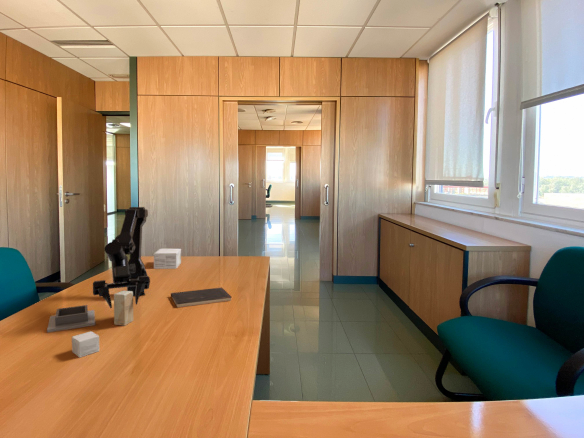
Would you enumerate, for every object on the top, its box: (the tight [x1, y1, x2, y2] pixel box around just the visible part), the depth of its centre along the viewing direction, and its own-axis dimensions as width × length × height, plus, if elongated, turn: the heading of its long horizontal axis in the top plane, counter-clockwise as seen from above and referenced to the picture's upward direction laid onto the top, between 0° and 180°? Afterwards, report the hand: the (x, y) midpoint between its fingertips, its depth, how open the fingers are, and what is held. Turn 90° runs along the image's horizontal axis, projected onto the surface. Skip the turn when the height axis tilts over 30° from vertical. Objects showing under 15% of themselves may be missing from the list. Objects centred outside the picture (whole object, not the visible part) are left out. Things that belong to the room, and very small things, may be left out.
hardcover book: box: [170, 287, 232, 308], centre depth 158 cm, size 16×23×2 cm
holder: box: [46, 304, 96, 334], centre depth 129 cm, size 14×14×4 cm
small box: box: [71, 331, 100, 358], centre depth 107 cm, size 6×6×5 cm
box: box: [113, 290, 134, 326], centre depth 129 cm, size 5×4×11 cm
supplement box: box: [153, 248, 182, 270], centre depth 219 cm, size 17×13×9 cm
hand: (124, 305), depth 128 cm, fingers open, 8 cm apart
